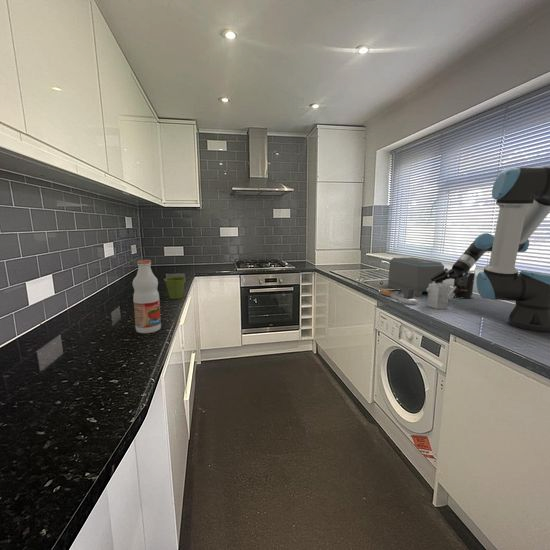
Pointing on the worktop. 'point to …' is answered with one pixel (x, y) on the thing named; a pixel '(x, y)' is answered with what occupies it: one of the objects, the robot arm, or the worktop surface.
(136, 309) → the fruit juice
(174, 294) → the plant pot
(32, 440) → the worktop surface
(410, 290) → the ratchet
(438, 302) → the socket
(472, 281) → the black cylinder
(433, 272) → the toaster
